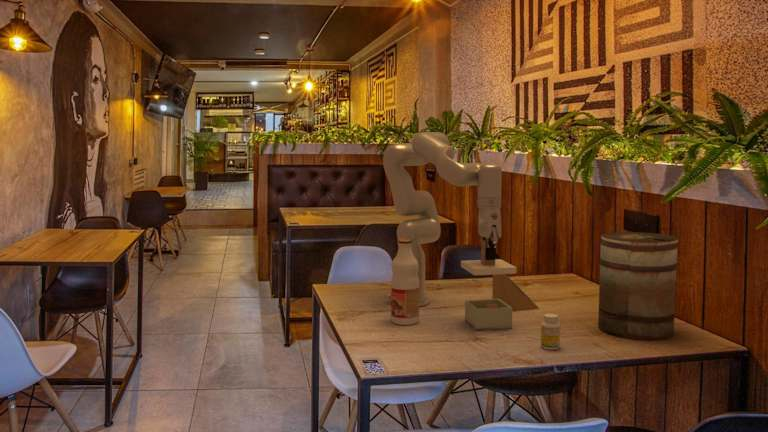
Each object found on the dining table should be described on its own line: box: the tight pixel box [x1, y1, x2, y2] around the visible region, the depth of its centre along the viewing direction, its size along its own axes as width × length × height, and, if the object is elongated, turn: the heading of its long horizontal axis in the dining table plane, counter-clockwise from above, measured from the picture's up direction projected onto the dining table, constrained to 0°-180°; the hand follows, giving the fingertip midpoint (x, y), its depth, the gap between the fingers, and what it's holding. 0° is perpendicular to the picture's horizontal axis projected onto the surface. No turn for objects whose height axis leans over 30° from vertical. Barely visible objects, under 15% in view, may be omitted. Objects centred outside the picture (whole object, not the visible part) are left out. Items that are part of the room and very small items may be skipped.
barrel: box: [597, 231, 679, 342], centre depth 203 cm, size 22×22×30 cm
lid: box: [460, 238, 517, 276], centre depth 209 cm, size 14×14×10 cm
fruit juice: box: [390, 238, 420, 326], centre depth 214 cm, size 9×9×28 cm
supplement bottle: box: [540, 313, 561, 351], centre depth 187 cm, size 5×5×10 cm
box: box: [464, 298, 513, 332], centre depth 211 cm, size 12×12×7 cm
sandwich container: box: [491, 274, 540, 312], centre depth 232 cm, size 9×15×15 cm, turn 104°
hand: (488, 257), depth 209 cm, fingers closed on lid, 3 cm apart
